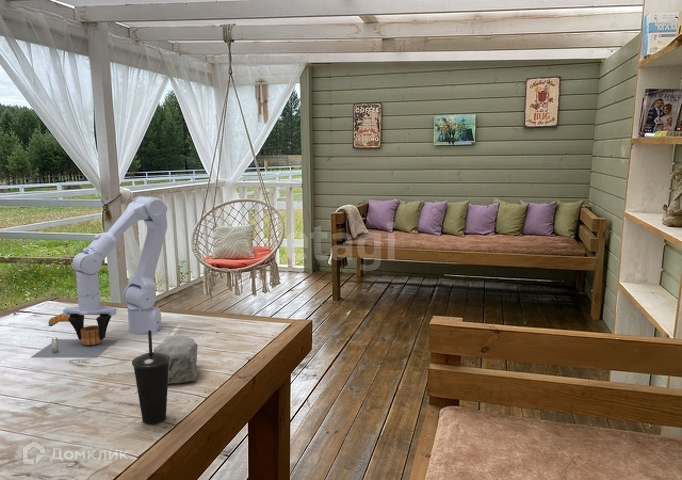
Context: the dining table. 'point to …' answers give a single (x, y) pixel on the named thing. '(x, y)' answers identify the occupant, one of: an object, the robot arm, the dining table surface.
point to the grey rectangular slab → (75, 349)
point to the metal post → (54, 345)
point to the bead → (90, 335)
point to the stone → (180, 358)
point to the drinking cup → (152, 384)
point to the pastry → (58, 319)
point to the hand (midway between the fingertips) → (92, 338)
